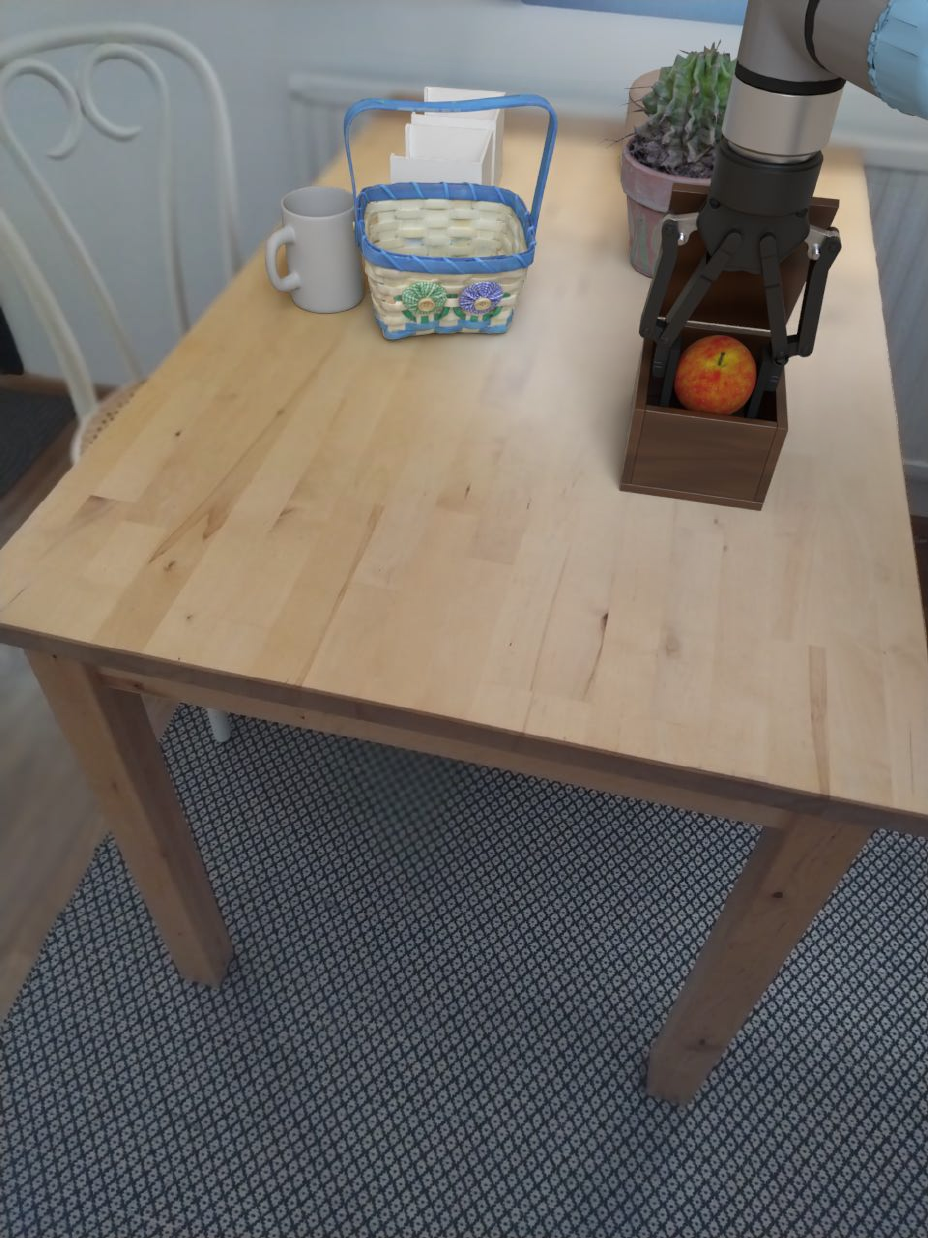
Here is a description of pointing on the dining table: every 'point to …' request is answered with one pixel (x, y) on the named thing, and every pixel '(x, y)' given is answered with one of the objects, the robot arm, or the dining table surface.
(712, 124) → the potted plant
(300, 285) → the mug
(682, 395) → the fruit
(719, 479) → the chest
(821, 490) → the dining table surface
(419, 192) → the basket
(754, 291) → the lid
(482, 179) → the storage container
